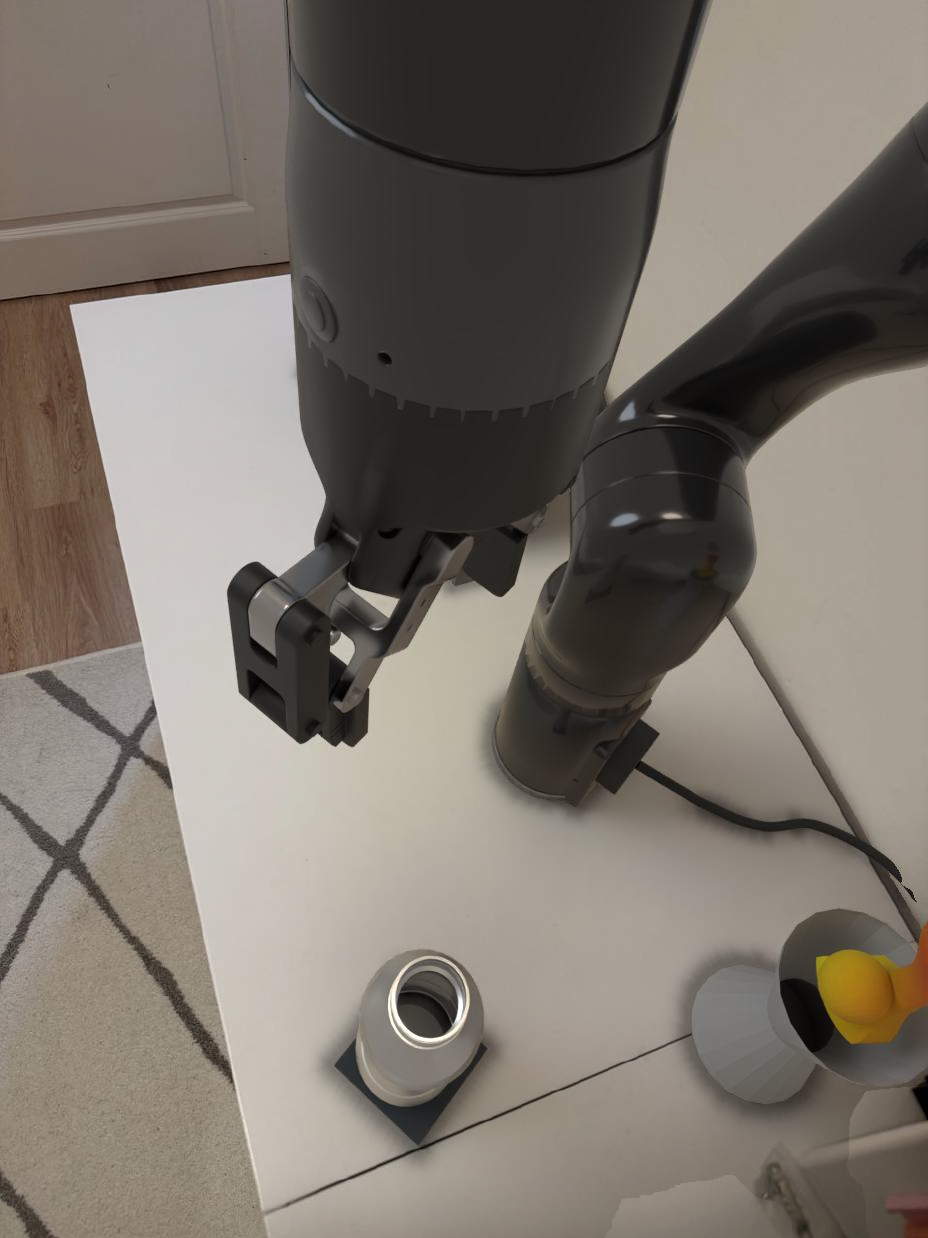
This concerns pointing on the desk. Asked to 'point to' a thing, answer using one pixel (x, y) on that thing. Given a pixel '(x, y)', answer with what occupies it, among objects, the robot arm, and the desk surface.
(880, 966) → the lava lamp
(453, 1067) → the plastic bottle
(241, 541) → the desk surface
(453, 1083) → the mat
